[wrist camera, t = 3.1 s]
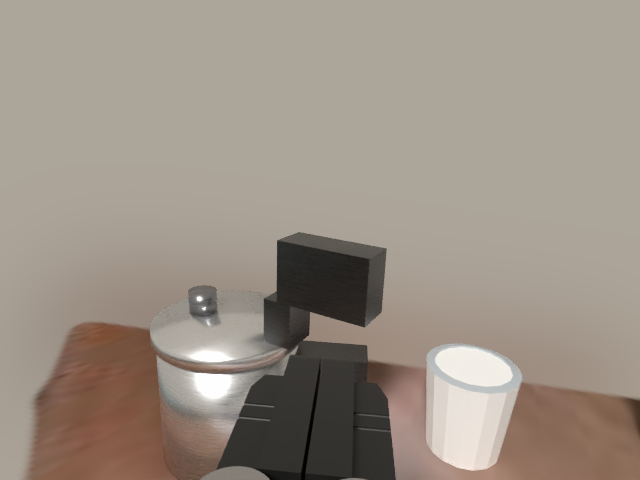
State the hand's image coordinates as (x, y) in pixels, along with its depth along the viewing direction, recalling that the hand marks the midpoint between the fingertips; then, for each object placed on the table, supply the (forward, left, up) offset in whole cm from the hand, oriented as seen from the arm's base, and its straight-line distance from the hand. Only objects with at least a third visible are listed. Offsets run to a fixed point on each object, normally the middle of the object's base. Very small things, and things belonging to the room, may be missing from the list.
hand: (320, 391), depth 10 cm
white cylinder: (-10, -21, -18) cm, 30 cm away
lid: (+5, -18, -9) cm, 21 cm away
